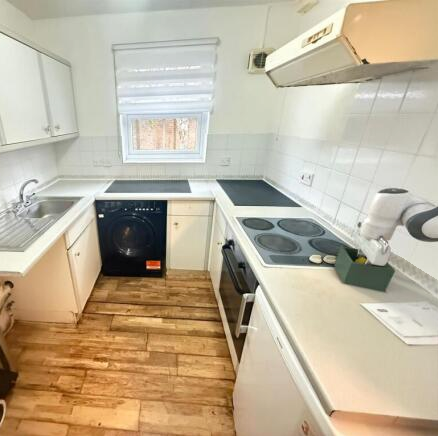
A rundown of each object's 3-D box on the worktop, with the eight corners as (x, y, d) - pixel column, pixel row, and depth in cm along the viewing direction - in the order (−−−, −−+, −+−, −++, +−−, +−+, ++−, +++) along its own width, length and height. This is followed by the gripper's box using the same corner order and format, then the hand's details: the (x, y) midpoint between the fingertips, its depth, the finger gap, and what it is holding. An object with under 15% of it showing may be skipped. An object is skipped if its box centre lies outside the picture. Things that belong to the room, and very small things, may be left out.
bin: (370, 272, 99) (378, 252, 96) (384, 292, 88) (395, 270, 84) (333, 265, 104) (340, 246, 100) (343, 283, 93) (351, 262, 89)
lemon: (349, 272, 99) (353, 254, 97) (367, 275, 96) (371, 256, 94) (352, 277, 94) (356, 258, 92) (371, 281, 92) (375, 261, 90)
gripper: (401, 245, 78) (385, 280, 83) (375, 222, 95) (363, 252, 101) (377, 242, 80) (362, 275, 86) (356, 220, 97) (345, 249, 103)
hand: (362, 262), depth 93 cm, fingers open, 5 cm apart
